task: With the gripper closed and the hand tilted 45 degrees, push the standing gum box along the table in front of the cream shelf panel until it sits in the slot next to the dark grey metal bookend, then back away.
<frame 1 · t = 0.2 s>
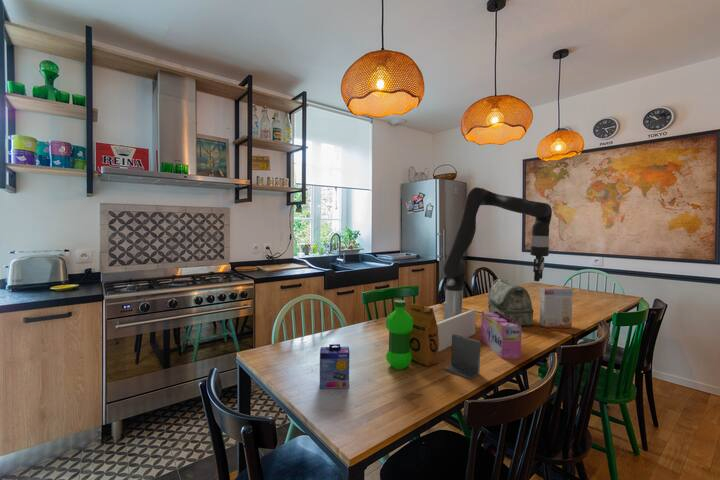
hand: (538, 279, 156), 28 cm above the table, tool pointing down, fingers open, 8 cm apart
plastic bottle: (399, 366, 126), on the table
bookend: (465, 369, 123), on the table
coffee package: (422, 361, 132), on the table
gum box: (499, 349, 145), on the table
shelf wall: (453, 343, 151), on the table
ink cartridge box: (334, 385, 111), on the table
lunch bag: (508, 320, 188), on the table
cracker box: (555, 326, 177), on the table
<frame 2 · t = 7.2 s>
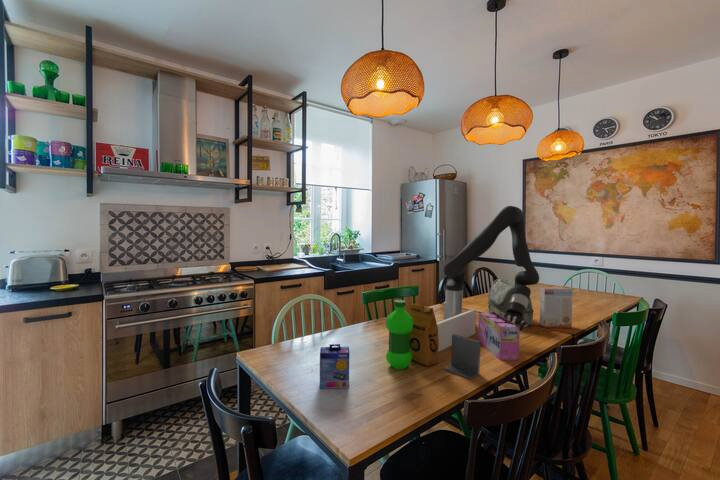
hand: (506, 338, 145), 4 cm above the table, tool tilted 45°, fingers closed
gum box: (496, 350, 144), on the table
everything else where it was.
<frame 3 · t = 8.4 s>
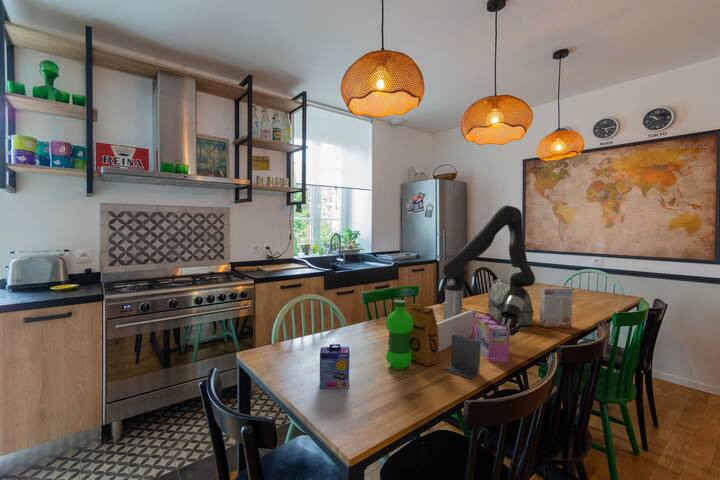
hand: (501, 341, 141), 4 cm above the table, tool tilted 45°, fingers closed
gum box: (488, 351, 142), on the table
everything else where it was.
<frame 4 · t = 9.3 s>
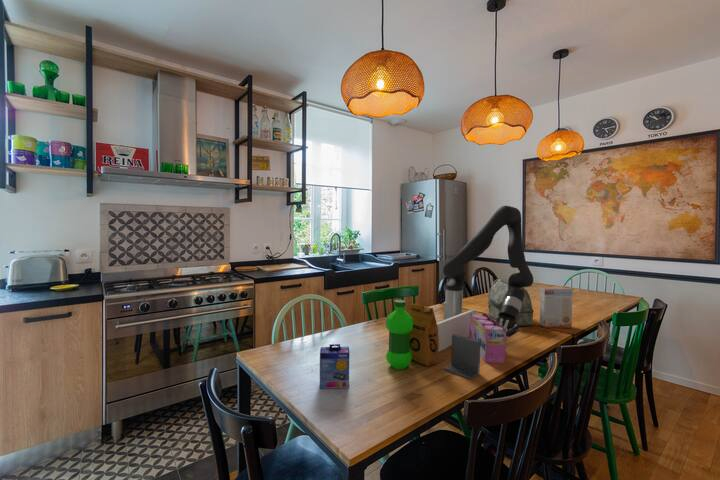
hand: (498, 343, 139), 4 cm above the table, tool tilted 45°, fingers closed
gum box: (485, 352, 141), on the table, touching gripper
everything else where it was.
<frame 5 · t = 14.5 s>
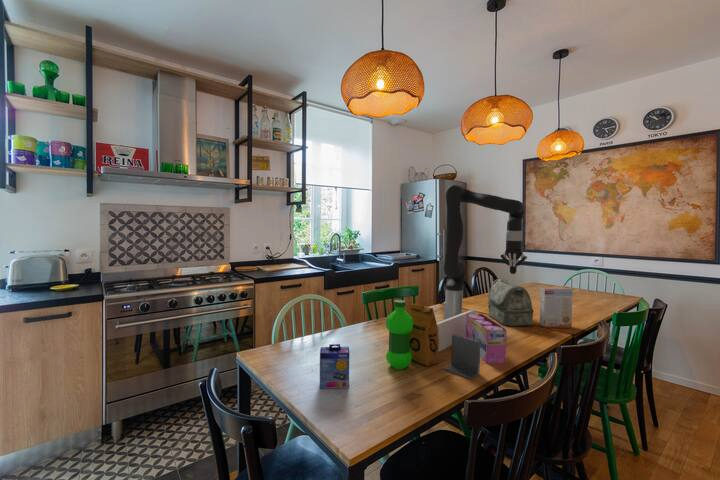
hand: (513, 273, 169), 29 cm above the table, tool pointing down, fingers closed
gum box: (483, 353, 140), on the table
everything else where it was.
at the end: gum box inside the target area (3.9 cm from its centre), on the table; gum box tilted 0°; gum box moved 9.6 cm from its start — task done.
